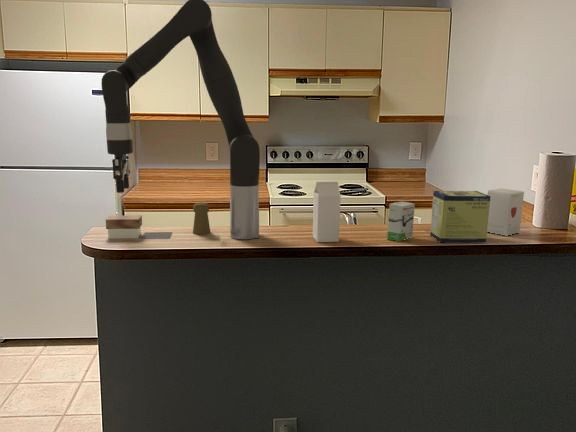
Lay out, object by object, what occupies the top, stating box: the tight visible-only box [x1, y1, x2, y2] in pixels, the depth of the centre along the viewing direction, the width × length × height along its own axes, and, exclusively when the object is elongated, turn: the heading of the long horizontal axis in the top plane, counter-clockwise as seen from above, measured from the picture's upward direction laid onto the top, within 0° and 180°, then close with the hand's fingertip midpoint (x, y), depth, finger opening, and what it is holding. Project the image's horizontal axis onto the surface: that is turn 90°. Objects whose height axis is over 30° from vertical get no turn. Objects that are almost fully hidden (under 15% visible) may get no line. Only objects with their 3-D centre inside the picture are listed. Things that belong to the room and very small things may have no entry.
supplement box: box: [487, 188, 525, 237], centre depth 182 cm, size 9×9×15 cm
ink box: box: [386, 200, 416, 242], centre depth 172 cm, size 9×5×12 cm, turn 137°
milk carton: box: [312, 181, 342, 243], centre depth 168 cm, size 7×7×19 cm
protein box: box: [429, 190, 491, 243], centre depth 172 cm, size 10×16×16 cm
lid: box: [105, 214, 143, 230], centre depth 166 cm, size 10×6×3 cm, turn 97°
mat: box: [140, 231, 173, 240], centre depth 168 cm, size 9×9×1 cm
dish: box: [107, 226, 142, 239], centre depth 167 cm, size 9×6×4 cm, turn 97°
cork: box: [192, 201, 211, 236], centre depth 172 cm, size 6×6×11 cm
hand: (123, 190), depth 164 cm, fingers open, 8 cm apart
